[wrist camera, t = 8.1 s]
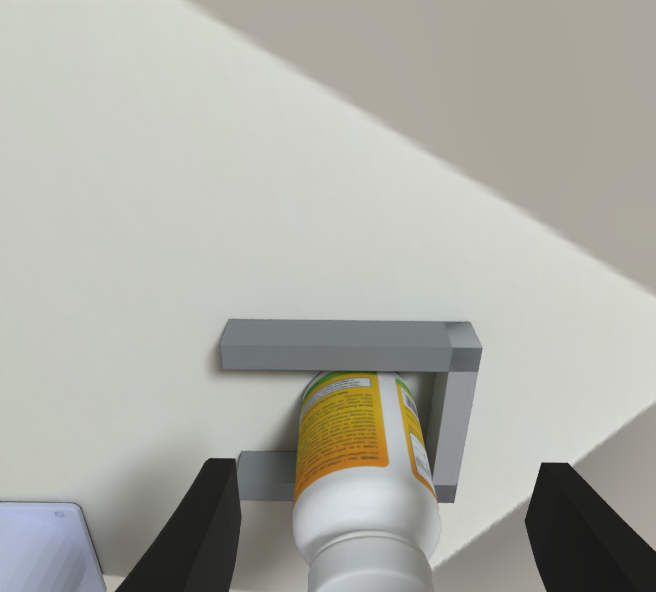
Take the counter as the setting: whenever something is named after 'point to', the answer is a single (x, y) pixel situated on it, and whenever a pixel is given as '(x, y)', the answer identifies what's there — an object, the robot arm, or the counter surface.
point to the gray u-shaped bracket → (361, 355)
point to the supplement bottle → (364, 486)
